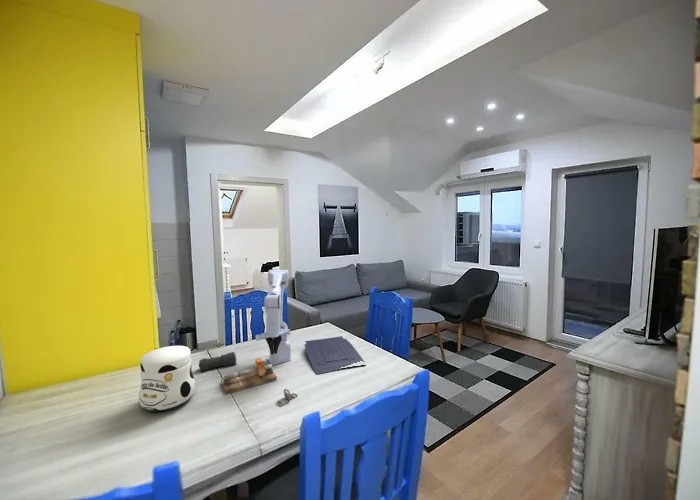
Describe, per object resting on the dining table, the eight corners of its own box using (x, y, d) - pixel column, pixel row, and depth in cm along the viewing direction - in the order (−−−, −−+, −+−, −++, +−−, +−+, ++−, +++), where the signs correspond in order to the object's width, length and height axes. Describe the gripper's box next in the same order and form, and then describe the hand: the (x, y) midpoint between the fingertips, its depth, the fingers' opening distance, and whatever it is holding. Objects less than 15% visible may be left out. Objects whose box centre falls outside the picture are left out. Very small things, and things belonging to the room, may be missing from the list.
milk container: (135, 422, 97) (132, 369, 96) (143, 395, 112) (141, 349, 111) (195, 407, 105) (193, 358, 104) (195, 384, 120) (193, 341, 119)
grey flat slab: (344, 340, 165) (345, 334, 165) (366, 370, 138) (367, 363, 137) (301, 346, 157) (301, 340, 156) (315, 380, 129) (315, 372, 128)
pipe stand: (269, 370, 133) (269, 359, 132) (276, 379, 124) (276, 368, 124) (221, 382, 122) (220, 370, 122) (225, 394, 114) (225, 381, 113)
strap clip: (280, 407, 106) (280, 396, 105) (275, 404, 108) (275, 393, 107) (298, 396, 113) (298, 386, 112) (292, 394, 114) (292, 383, 114)
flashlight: (199, 374, 129) (199, 362, 129) (198, 369, 134) (198, 357, 134) (236, 365, 138) (236, 354, 137) (234, 360, 142) (234, 349, 142)
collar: (260, 369, 128) (260, 357, 128) (264, 375, 123) (264, 363, 123) (255, 370, 127) (255, 358, 127) (259, 376, 122) (259, 364, 122)
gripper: (258, 328, 120) (259, 361, 121) (292, 322, 128) (293, 353, 129) (254, 323, 126) (254, 354, 127) (286, 318, 133) (287, 347, 134)
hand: (273, 353), depth 128 cm, fingers closed
